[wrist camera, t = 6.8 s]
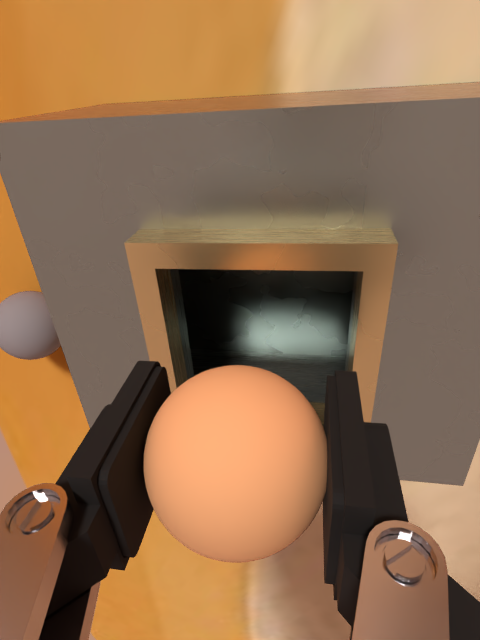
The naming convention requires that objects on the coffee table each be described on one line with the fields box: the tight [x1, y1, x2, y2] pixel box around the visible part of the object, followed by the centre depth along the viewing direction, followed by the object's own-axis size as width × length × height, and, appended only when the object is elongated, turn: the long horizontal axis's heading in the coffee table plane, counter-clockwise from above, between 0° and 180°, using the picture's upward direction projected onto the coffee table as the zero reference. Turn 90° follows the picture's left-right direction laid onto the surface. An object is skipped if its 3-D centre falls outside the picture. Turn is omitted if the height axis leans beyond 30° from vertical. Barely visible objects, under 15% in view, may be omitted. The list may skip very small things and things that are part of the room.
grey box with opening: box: [0, 82, 480, 486], centre depth 17 cm, size 16×14×9 cm
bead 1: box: [0, 291, 61, 360], centre depth 24 cm, size 4×4×4 cm
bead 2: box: [144, 365, 327, 562], centre depth 10 cm, size 4×4×4 cm
